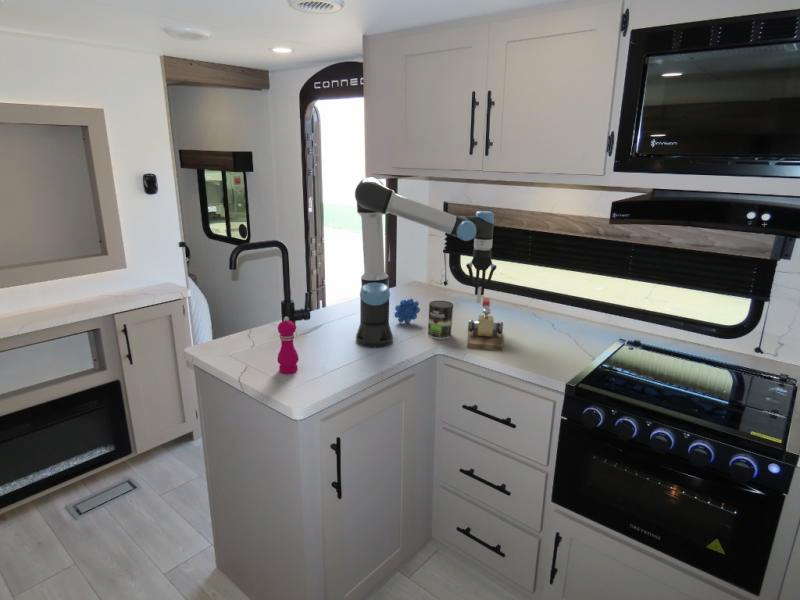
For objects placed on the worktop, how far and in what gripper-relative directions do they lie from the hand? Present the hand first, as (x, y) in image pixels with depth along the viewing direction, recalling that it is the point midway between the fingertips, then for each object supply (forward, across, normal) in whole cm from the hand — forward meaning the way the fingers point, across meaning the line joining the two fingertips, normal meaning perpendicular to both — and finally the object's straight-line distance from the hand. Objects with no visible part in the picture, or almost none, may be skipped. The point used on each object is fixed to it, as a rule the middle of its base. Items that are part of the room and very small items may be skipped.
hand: (478, 302), depth 211 cm
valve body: (+12, +4, -10) cm, 16 cm away
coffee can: (+14, -15, -9) cm, 22 cm away
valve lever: (+2, +4, -4) cm, 5 cm away
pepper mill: (+14, -61, -60) cm, 87 cm away
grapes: (+14, -32, +2) cm, 35 cm away
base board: (+14, +4, -10) cm, 17 cm away
